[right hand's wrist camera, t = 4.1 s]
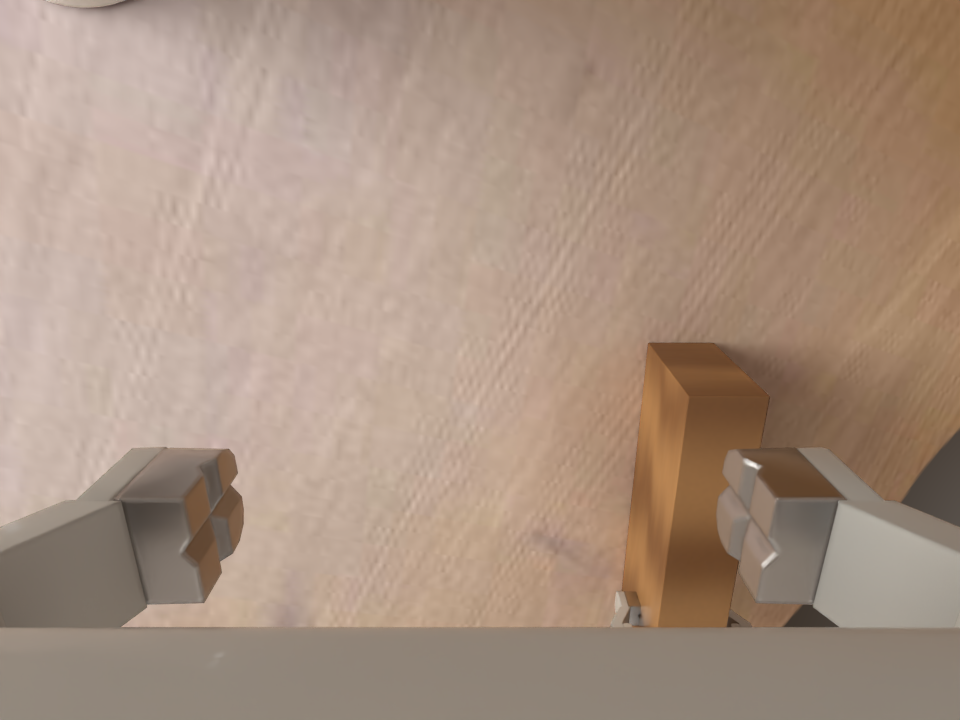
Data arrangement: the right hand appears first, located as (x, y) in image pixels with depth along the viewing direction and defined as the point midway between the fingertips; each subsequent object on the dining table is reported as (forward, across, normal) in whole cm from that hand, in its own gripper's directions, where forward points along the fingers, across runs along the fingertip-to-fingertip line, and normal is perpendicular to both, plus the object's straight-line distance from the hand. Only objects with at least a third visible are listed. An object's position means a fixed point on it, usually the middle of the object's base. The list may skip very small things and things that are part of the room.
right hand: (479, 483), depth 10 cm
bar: (+31, -14, +19) cm, 39 cm away
